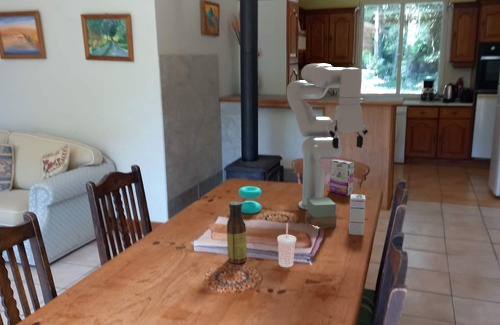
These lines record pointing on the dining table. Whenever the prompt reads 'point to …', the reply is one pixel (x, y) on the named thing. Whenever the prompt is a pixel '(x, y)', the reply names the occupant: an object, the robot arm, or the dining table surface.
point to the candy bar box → (342, 177)
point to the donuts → (250, 193)
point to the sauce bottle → (236, 234)
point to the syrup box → (357, 214)
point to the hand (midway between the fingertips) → (347, 147)
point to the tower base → (320, 220)
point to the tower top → (321, 207)
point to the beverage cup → (286, 249)
